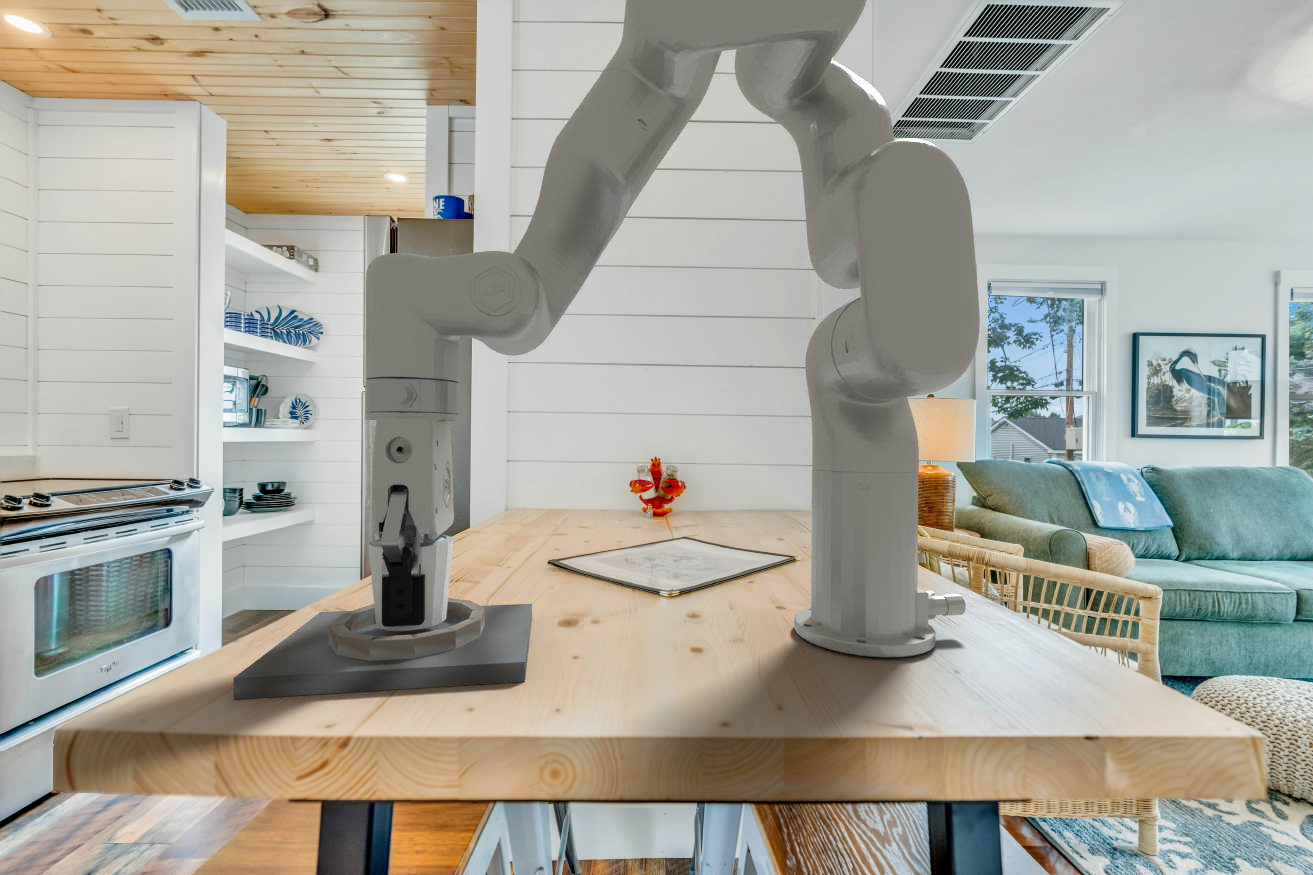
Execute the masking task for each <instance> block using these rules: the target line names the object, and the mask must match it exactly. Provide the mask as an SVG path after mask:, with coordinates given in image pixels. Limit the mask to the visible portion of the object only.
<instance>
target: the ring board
mask: <svg viewBox="0 0 1313 875" xmlns="http://www.w3.org/2000/svg"><path fill="white" fill-rule="evenodd" d="M532 614H533V603H516V604H493V605H492V604H490V605H488V604H487V605H486V604H485V605H480V604H477V603H476V602H473V601H472V600H466V599H459V598H450V597H448V604H447V614H446V619H445V620H444V621H443V622H442V623H439V624H437V625H434V626H431V627H427V628H423V629H417V630H408V631H390V630H384V629H380V628H379V627H377V626H376V620H375V609H374V603H372V604H369V605H366V606H363V607H359V608H356V609H354V610H339V611H337V610H336V611H320V612H319V613H318V614H315V615H314V616H313V617H312V618H311V619H309V620H308V621H307V622H305V623H304V624H303V625H301V626H300V627H299V628H297V629H296V630H295V631H293V632H292V633H291V634H290V635H288V636H287V637H286V638H284V639H283V640H282V641H280V642H279V643H277V645H275V646H274V647H272V648H271V649H270V650H268V651H267V652H266V653H264V654H263V655H262V656H261V657H259V658H258V659H256V660H255V661H253V662H252V663H251V664H250V665H248V666H247V667H246V668H244V670H242V671H241V672H239V673H238V674H237V675H235V676H234V677H233V684H232V686H233V689H232V691H233V693H232V697H233V698H232V699H233V700H246V699H260V698H278V697H280V698H281V697H293V696H294V697H295V696H296V697H297V696H309V695H311V696H312V695H325V694H328V695H329V694H343V693H361V692H363V693H364V692H375V691H376V692H377V691H392V690H410V689H424V688H426V689H427V688H440V687H456V686H460V687H461V686H474V685H475V686H476V685H489V684H507V683H509V684H510V683H523V682H526V676H527V665H528V658H529V649H530V639H531V629H532V621H533V615H532Z"/></svg>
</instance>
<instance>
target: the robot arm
mask: <svg viewBox="0 0 1313 875" xmlns="http://www.w3.org/2000/svg"><path fill="white" fill-rule="evenodd" d="M866 3H867V0H625V8H624V17H623V18H624V19H623V28H622V38H621V41H620V44H619V46H618V48H617V50H615V51H616V52H615V53H614V55H613V56H612V58H611V59H610V60H609V62H608V63H607V65H605V67H604V69H603V71H602V72H601V73H600V75H599V77H597V79H596V81H595V82H594V83H593V85H592V86H591V88H590V90H589V91H588V93H587V94H586V95H585V97H584V98H583V99H582V101H581V102H580V104H579V106H578V107H577V108H576V109H575V111H574V112H573V113H572V115H571V116H570V118H569V119H568V120H567V122H566V123H565V125H564V126H563V127H562V129H561V130H560V131H559V133H558V135H557V136H556V138H555V140H554V141H553V144H552V146H551V149H550V151H549V154H548V157H547V160H546V164H545V168H544V170H543V176H542V181H541V187H540V190H539V191H540V192H539V195H538V200H537V203H536V206H535V210H534V212H533V215H532V217H531V219H530V221H529V224H528V227H527V229H526V231H525V233H524V234H523V236H522V238H521V240H520V241H519V244H518V245H517V247H516V248H515V249H514V251H513V252H509V251H502V250H484V251H476V252H469V253H463V254H461V253H460V254H455V255H454V254H453V255H445V256H434V257H433V256H429V255H424V254H420V253H419V254H418V253H413V252H412V253H409V252H395V253H394V252H393V253H385V254H381V255H379V256H376V257H374V258H373V259H372V260H371V261H370V262H369V264H368V266H367V269H366V271H365V272H366V273H365V353H364V354H365V363H364V364H365V370H364V371H365V373H364V375H365V379H364V380H365V381H364V384H365V385H364V387H365V388H364V389H365V390H364V392H365V393H364V399H365V401H364V404H365V406H364V412H365V413H364V419H365V420H369V421H375V428H374V429H375V431H374V433H375V434H374V442H373V446H374V447H373V458H372V459H373V460H372V461H373V462H372V480H371V481H372V483H371V484H372V485H371V489H372V490H371V519H372V531H373V534H374V536H375V537H376V539H380V540H381V546H382V549H383V553H382V556H383V558H382V559H383V563H382V625H383V626H385V627H393V626H414V625H421V624H422V623H423V622H424V620H425V574H421V565H422V545H423V539H424V535H428V537H429V539H436V538H437V537H438V536H440V535H443V533H445V532H446V531H447V530H449V528H450V527H452V525H453V524H454V520H455V510H454V509H455V506H454V503H455V502H454V482H453V480H454V478H453V476H454V475H453V455H452V454H453V453H452V452H453V451H452V450H453V449H452V440H451V429H450V428H451V427H450V422H459V421H460V339H461V338H462V337H464V338H472V339H474V340H477V341H479V342H481V343H483V344H484V345H485V346H487V347H488V348H489V349H490V350H492V351H494V352H496V353H498V354H501V355H505V356H511V357H512V356H513V357H514V356H522V355H526V354H529V353H530V352H532V351H534V350H536V349H537V348H538V347H540V346H541V345H542V344H543V343H544V341H546V339H548V337H549V336H550V334H551V333H552V331H553V330H554V329H555V328H556V326H557V325H558V323H559V322H560V320H561V319H562V317H563V316H564V314H565V312H567V310H568V309H569V307H570V306H571V304H572V302H573V301H574V299H575V298H576V297H577V295H578V293H579V292H580V290H581V289H582V287H583V286H584V284H585V282H586V281H587V279H588V277H589V276H590V274H591V273H592V271H593V270H594V268H595V266H596V264H597V262H598V261H599V259H600V258H601V256H602V254H603V253H604V251H605V250H606V248H608V245H609V243H610V242H611V241H612V240H613V238H614V236H615V234H616V233H617V232H618V230H619V229H620V227H621V225H622V224H623V222H624V220H625V218H626V217H627V214H628V212H629V211H630V209H631V208H632V206H633V205H634V203H635V202H636V200H637V198H638V197H639V195H640V193H641V192H642V191H643V189H644V187H645V186H646V184H647V183H648V182H649V180H650V179H651V177H652V176H653V174H654V173H655V171H656V170H657V168H658V167H659V165H660V164H661V162H662V161H663V160H664V158H665V156H666V155H667V154H668V152H669V151H670V150H671V148H672V146H673V145H674V143H675V142H676V141H677V139H678V137H679V136H680V135H681V134H682V132H683V130H684V129H685V128H686V126H687V124H688V123H689V121H690V120H691V119H692V117H693V115H694V114H695V113H696V112H697V109H698V108H699V107H700V105H701V104H702V101H703V100H704V99H705V96H706V94H707V92H708V90H709V87H710V85H711V83H712V80H713V78H714V74H715V72H716V69H717V65H718V63H719V60H720V58H721V55H722V52H725V51H733V50H735V56H734V74H735V79H736V82H737V86H738V87H739V90H740V92H741V93H742V95H743V96H744V98H745V100H747V102H748V103H749V104H750V105H751V106H752V107H753V108H755V109H756V110H757V111H759V112H760V113H762V114H764V115H765V116H767V117H769V118H771V119H772V120H773V121H775V122H777V123H778V124H779V125H780V126H782V127H783V128H784V129H785V131H787V132H788V134H789V135H790V136H791V138H792V139H793V140H794V142H795V145H796V147H797V150H798V151H797V152H798V155H799V156H798V157H799V161H800V168H801V176H802V187H803V198H804V211H805V212H804V213H805V223H806V240H807V248H808V254H809V255H808V256H809V259H810V263H811V265H812V267H813V270H814V272H815V273H816V275H817V276H818V277H819V278H820V280H822V281H823V282H824V283H825V284H827V285H829V286H830V287H832V288H835V289H841V290H853V289H855V290H856V289H859V290H860V296H859V297H858V298H855V299H854V300H853V299H852V300H851V301H849V302H848V303H845V304H843V305H842V306H840V307H838V308H836V309H835V310H833V311H832V312H830V313H829V314H828V315H826V316H825V317H824V318H823V319H822V321H821V322H820V323H819V324H818V325H817V327H816V328H815V330H814V331H813V333H812V335H811V337H810V339H809V341H808V344H807V347H806V348H807V349H806V353H805V362H804V364H805V380H806V386H807V394H808V399H809V406H810V415H811V416H810V417H811V436H812V438H811V439H812V443H811V445H812V447H811V448H812V450H811V451H812V460H811V461H812V463H811V464H812V466H811V467H812V469H811V528H810V529H811V532H810V533H811V541H810V543H811V544H810V545H811V546H810V547H811V548H810V549H811V552H810V555H811V556H810V607H808V608H804V609H802V610H800V611H799V612H797V613H796V614H795V616H794V618H793V622H794V625H793V626H794V627H793V628H794V630H795V632H796V634H797V635H799V636H800V637H801V638H802V639H804V640H805V641H807V642H809V643H811V644H814V645H816V646H818V647H821V648H824V649H827V650H829V651H830V650H831V651H835V652H838V653H843V654H849V655H855V656H861V657H872V658H904V657H905V658H907V657H913V656H917V655H922V654H924V653H927V652H929V651H931V650H932V649H933V648H934V647H935V646H936V643H937V641H936V639H937V638H936V637H937V636H936V632H937V631H936V630H935V629H934V627H933V626H932V625H931V624H929V620H930V621H931V620H934V619H935V618H936V617H937V616H939V615H940V616H945V617H946V616H947V617H949V616H962V615H964V614H965V613H966V610H967V609H966V608H967V605H966V602H965V599H964V598H963V596H962V595H960V594H958V593H956V594H954V593H953V594H939V595H935V593H934V591H932V590H927V591H926V590H924V589H922V588H919V587H918V586H919V584H918V583H919V582H918V581H919V580H918V574H919V573H918V572H919V571H918V570H919V568H918V567H919V566H918V565H919V563H918V562H919V560H918V558H919V548H918V547H919V546H918V545H919V472H920V454H919V453H920V450H919V448H920V447H919V439H918V438H919V437H918V432H917V427H916V423H915V420H914V415H913V412H912V410H911V406H910V402H909V399H908V398H909V397H910V398H911V397H916V396H922V395H927V394H931V393H932V394H933V393H936V392H938V391H941V390H944V389H946V388H948V387H949V386H951V385H952V384H953V383H955V382H956V381H957V380H959V379H960V378H961V377H962V376H963V375H964V374H965V372H966V371H968V368H969V367H970V365H971V363H972V361H973V359H974V357H975V355H976V351H977V347H978V344H979V338H980V336H979V335H980V327H981V326H980V321H981V319H980V318H981V317H980V303H979V302H980V300H979V298H980V297H979V287H978V274H977V273H978V272H977V261H976V250H975V238H974V237H975V236H974V235H975V234H974V226H973V214H972V207H971V199H970V195H969V191H968V188H967V185H966V182H965V180H964V177H963V175H962V174H961V172H960V170H959V168H958V167H957V165H956V163H955V162H954V161H953V160H952V158H951V157H950V156H949V155H948V154H947V153H946V152H945V151H944V150H942V149H941V148H940V147H938V146H937V145H935V144H933V143H931V142H929V141H926V140H923V139H918V138H900V139H895V137H894V136H895V135H894V128H893V121H892V117H891V114H890V113H891V112H890V111H889V107H888V105H887V104H886V102H885V100H884V99H883V97H882V96H881V95H880V93H879V92H878V91H877V89H875V88H874V87H873V86H872V85H871V84H869V82H867V81H865V80H864V79H863V78H861V77H859V76H858V75H857V74H856V73H854V72H852V71H851V70H849V69H848V68H846V67H845V66H843V65H841V64H839V63H838V62H837V61H834V60H833V59H834V58H835V57H836V54H837V53H838V52H839V50H840V49H841V47H842V46H843V44H844V42H846V40H847V38H848V37H849V35H850V34H851V33H852V31H853V30H854V28H855V26H856V25H857V23H858V21H859V19H860V18H861V15H862V13H863V11H864V8H865V7H866ZM404 535H406V536H404ZM414 535H416V536H414ZM404 545H413V555H412V551H410V549H409V547H404Z"/></svg>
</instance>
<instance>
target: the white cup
mask: <svg viewBox="0 0 1313 875" xmlns="http://www.w3.org/2000/svg"><path fill="white" fill-rule="evenodd" d="M404 536H406V535H404ZM414 536H416V535H414ZM454 539H455V538H454V537H453V536H450V535H446V534H441V535H440V536H438V537H437V538H436V539H429V537H428V535H424V539H423V545H422V565H421V574H425V620H424V622H423V623H422V624H421V625H414V626H393V627H385V626H383V625H382V563H383V559H382V558H383V556H382V553H383V549H382V546H381V540H380V539H379V538H376V539H374V540H371V541H369V542H368V544H367V545H368V553H369V564H370V565H369V566H370V573H371V586H372V596H373V604H374V609H375V620H376V626H377V627H379V628H380V629H384V630H390V631H408V630H417V629H423V628H427V627H431V626H434V625H437V624H439V623H442V622H443V621H444V620H445V619H446V614H447V604H448V598H449V595H450V594H449V593H450V592H449V591H450V584H451V583H450V582H451V573H452V562H453V552H454V544H455V543H454V541H455V540H454ZM404 547H409V549H410V551H412V555H413V545H404Z"/></svg>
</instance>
